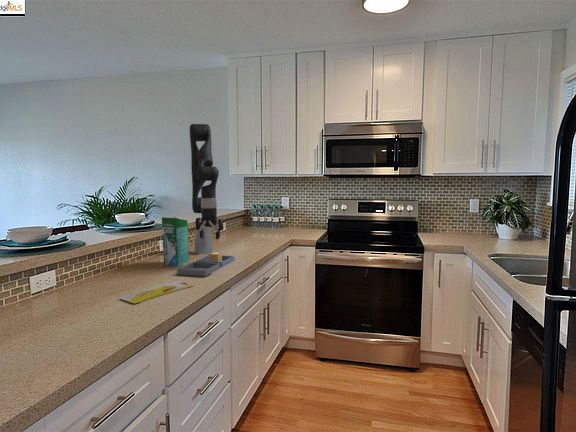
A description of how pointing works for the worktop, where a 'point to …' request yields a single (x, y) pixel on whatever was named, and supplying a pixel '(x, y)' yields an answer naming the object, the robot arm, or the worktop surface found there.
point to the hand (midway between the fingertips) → (209, 238)
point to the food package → (155, 292)
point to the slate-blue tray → (224, 262)
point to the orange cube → (215, 257)
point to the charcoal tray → (198, 269)
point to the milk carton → (175, 241)
